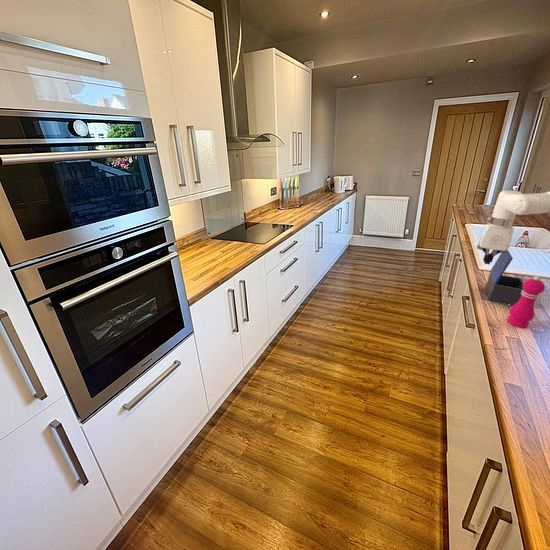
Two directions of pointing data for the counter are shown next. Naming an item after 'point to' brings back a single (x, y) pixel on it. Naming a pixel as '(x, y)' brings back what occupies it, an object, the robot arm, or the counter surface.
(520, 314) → the pepper mill
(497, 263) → the lid
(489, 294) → the storage box
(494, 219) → the robot arm
